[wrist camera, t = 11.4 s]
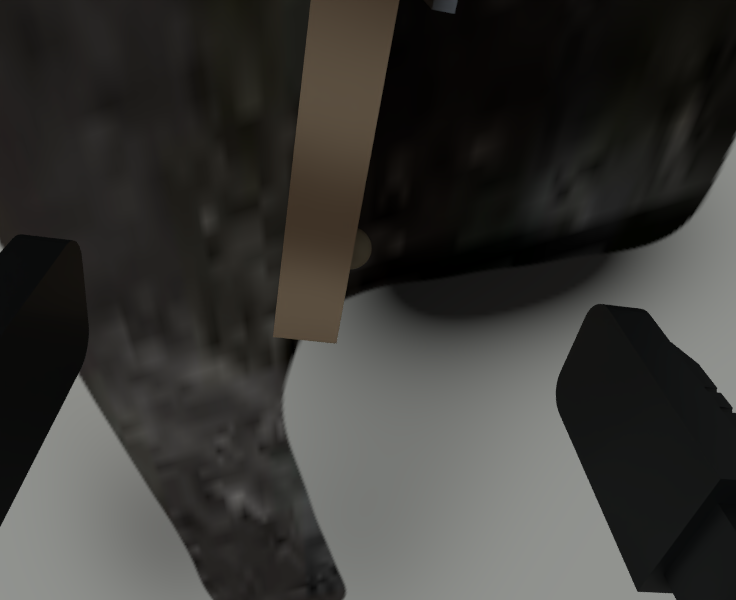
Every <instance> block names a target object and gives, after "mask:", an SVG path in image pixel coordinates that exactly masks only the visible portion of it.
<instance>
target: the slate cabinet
mask: <svg viewBox="0 0 736 600" xmlns="http://www.w3.org/2000/svg"><path fill="white" fill-rule="evenodd" d="M424 1H425V3H426V4H427V5H428V6H429V7H430V8H431V9H432V10H437V11H442V12H447V13H453V14H455V10H456V5H457V1H458V0H424Z"/></svg>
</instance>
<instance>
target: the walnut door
mask: <svg viewBox="0 0 736 600" xmlns="http://www.w3.org/2000/svg"><path fill="white" fill-rule="evenodd" d="M398 5H399V0H311V4H310V13H309V22H308V31H307V40H306V49H305V58H304V67H303V76H302V85H301V93H300V102H299V111H298V120H297V129H296V138H295V147H294V156H293V165H292V174H291V182H290V191H289V200H288V209H287V218H286V227H285V236H284V245H283V254H282V263H281V271H280V280H279V289H278V298H277V307H276V316H275V325H274V334H273V337H279V338H288V339H298V340H308V341H317V342H327V343H336V342H337V336H338V331H339V326H340V320H341V315H342V310H343V304H344V299H345V293H346V288H347V282H348V277H349V272H350V269H355V268H358V267H361V266H362V265H364V264H365V263H366V262H367V261H368V259H369V257H370V255H371V250H372V246H371V241H370V239H369V237H368V236H367V234H366V233H365V232H364V231H362V230H361V229H359V228H358V223H359V217H360V212H361V206H362V201H363V195H364V190H365V184H366V179H367V174H368V168H369V163H370V157H371V152H372V146H373V141H374V135H375V130H376V125H377V119H378V114H379V108H380V103H381V97H382V92H383V86H384V81H385V76H386V70H387V65H388V59H389V54H390V48H391V43H392V37H393V32H394V27H395V21H396V16H397V10H398Z"/></svg>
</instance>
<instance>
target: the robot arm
mask: <svg viewBox="0 0 736 600" xmlns="http://www.w3.org/2000/svg"><path fill="white" fill-rule="evenodd" d="M88 338H89V323H88V313H87V303H86V293H85V283H84V273H83V263H82V255H81V250H80V247H79V245H78V243H77V242H76V241H73V240H65V239H56V238H48V237H39V236H31V235H22V234H20V235H17V236H15V237H14V238H13V239H12V240H11V241H10V242H9V243H8V245H7V246H6V247H5V248H4V249H3V250H2V251H1V252H0V526H1V524H2V522H3V520H4V518H5V516H6V514H7V512H8V511H9V509H10V507H11V505H12V503H13V501H14V499H15V497H16V495H17V493H18V491H19V489H20V487H21V485H22V483H23V481H24V479H25V477H26V475H27V473H28V471H29V469H30V467H31V465H32V463H33V461H34V459H35V457H36V455H37V454H38V451H39V450H40V448H41V446H42V444H43V442H44V440H45V438H46V436H47V434H48V432H49V430H50V428H51V426H52V424H53V422H54V420H55V418H56V416H57V414H58V412H59V411H60V409H61V407H62V405H63V403H64V401H65V399H66V397H67V395H68V393H69V391H70V389H71V387H72V385H73V383H74V381H75V379H76V377H77V375H78V373H79V371H80V369H81V367H82V365H83V362H84V359H85V356H86V352H87V346H88ZM556 403H557V408H558V411H559V414H560V416H561V418H562V421H563V423H564V425H565V427H566V430H567V432H568V434H569V437H570V439H571V441H572V443H573V446H574V448H575V450H576V452H577V455H578V457H579V459H580V462H581V464H582V466H583V469H584V471H585V473H586V475H587V478H588V479H589V482H590V484H591V486H592V489H593V491H594V493H595V496H596V498H597V500H598V503H599V505H600V507H601V509H602V512H603V514H604V516H605V519H606V521H607V523H608V525H609V528H610V530H611V532H612V534H613V537H614V539H615V541H616V543H617V546H618V548H619V551H620V553H621V555H622V557H623V560H624V562H625V564H626V566H627V569H628V571H629V573H630V576H631V578H632V580H633V582H634V585H635V587H636V589H637V591H638V592H657V593H673V594H674V596H675V598H676V600H736V413H732V407H731V405H730V404H729V403H728V401H727V400H726V399H725V398H724V396H723V395H722V394H721V393H717V387H716V386H715V385H714V383H713V382H712V381H711V379H710V378H709V377H708V376H707V374H706V373H705V372H704V370H703V369H702V368H701V367H700V365H699V364H698V363H696V362H695V361H694V360H693V359H692V358H690V357H689V356H688V355H687V354H685V353H684V352H683V351H681V350H680V349H679V348H678V347H676V346H675V345H674V344H673V343H671V342H670V341H669V339H668V338H667V337H666V335H665V334H664V333H663V331H662V330H661V329H660V327H659V326H658V325H657V323H656V322H655V321H654V319H653V318H652V317H651V316H650V314H649V313H648V312H647V311H645V310H643V309H638V308H630V307H621V306H613V305H605V304H597V305H595V306H593V307H592V308H591V309H590V310H589V312H588V313H587V315H586V317H585V319H584V321H583V323H582V326H581V328H580V330H579V332H578V334H577V337H576V339H575V341H574V343H573V346H572V348H571V350H570V352H569V354H568V356H567V359H566V361H565V363H564V365H563V367H562V370H561V372H560V374H559V377H558V381H557V387H556Z"/></svg>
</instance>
